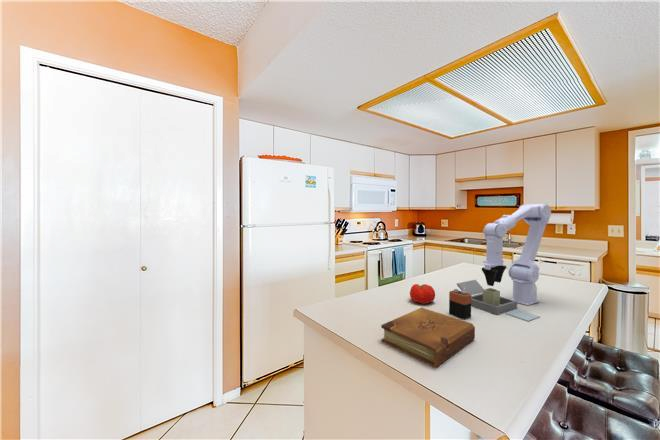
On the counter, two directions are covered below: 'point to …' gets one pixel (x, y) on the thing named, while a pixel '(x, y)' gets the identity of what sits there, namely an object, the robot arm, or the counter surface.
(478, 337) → the counter surface
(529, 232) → the robot arm
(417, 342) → the diary
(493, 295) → the block
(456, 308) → the battery
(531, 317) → the mat
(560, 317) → the counter surface
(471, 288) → the case
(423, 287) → the tomato
